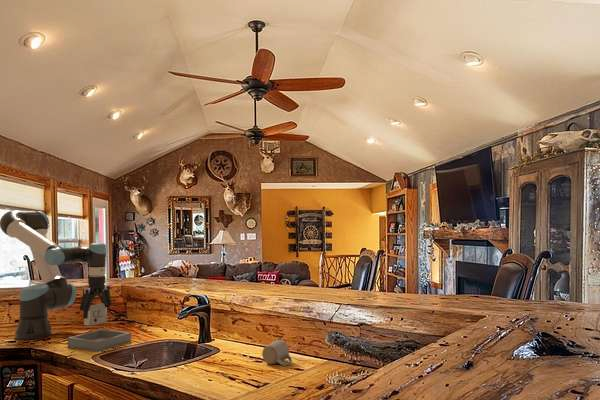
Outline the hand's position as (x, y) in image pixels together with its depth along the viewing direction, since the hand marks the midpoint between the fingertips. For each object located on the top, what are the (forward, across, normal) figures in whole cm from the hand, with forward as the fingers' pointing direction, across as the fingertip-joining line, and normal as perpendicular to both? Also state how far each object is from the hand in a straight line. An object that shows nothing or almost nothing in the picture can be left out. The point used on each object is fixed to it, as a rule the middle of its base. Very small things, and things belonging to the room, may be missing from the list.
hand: (95, 322), depth 225 cm
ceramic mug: (+3, -4, -101) cm, 101 cm away
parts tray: (+5, -13, -18) cm, 22 cm away
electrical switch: (+1, 0, 0) cm, 1 cm away
